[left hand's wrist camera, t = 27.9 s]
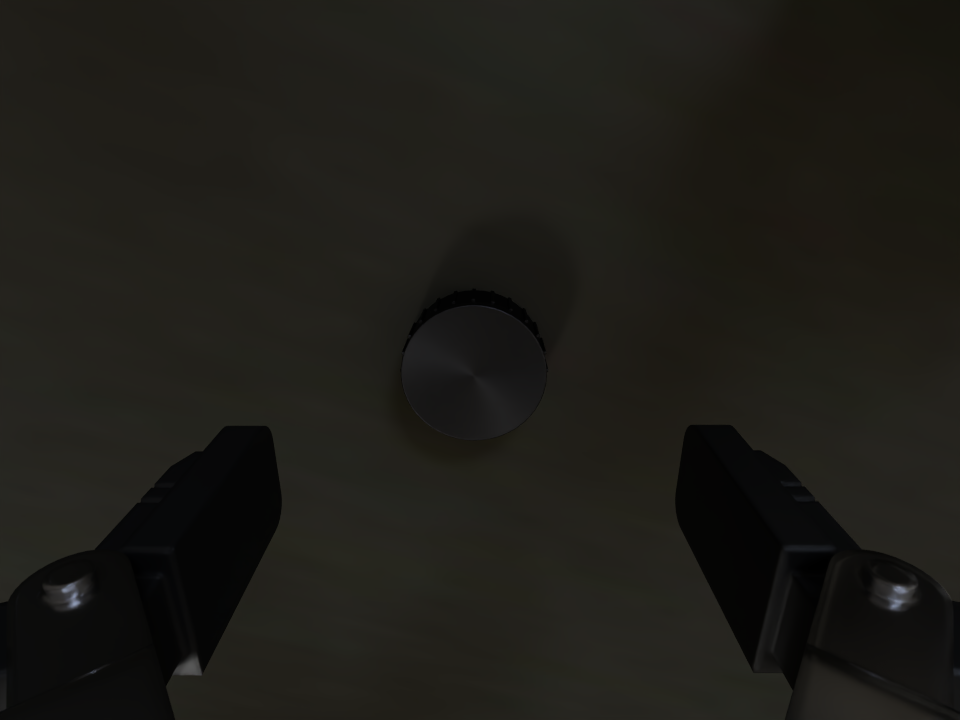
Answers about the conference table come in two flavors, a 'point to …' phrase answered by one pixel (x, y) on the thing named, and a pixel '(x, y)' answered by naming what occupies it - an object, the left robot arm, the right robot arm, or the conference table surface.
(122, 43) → the conference table surface
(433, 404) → the lid
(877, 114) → the conference table surface
